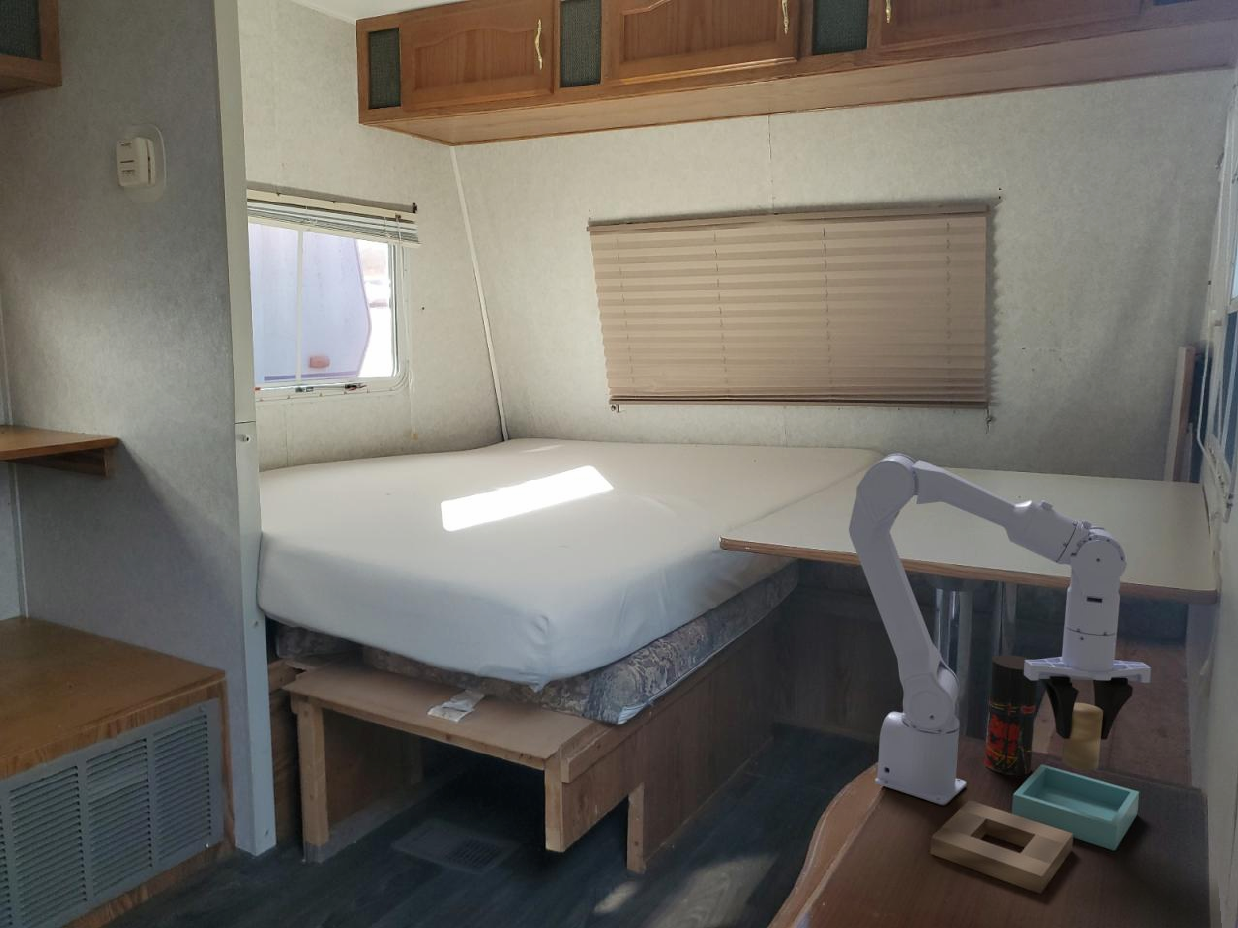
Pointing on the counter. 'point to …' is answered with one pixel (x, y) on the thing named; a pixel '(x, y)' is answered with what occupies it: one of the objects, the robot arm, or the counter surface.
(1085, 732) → the dowel
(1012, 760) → the deodorant
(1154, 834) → the counter surface
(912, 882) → the counter surface
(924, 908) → the counter surface
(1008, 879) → the socket block
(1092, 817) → the tray
